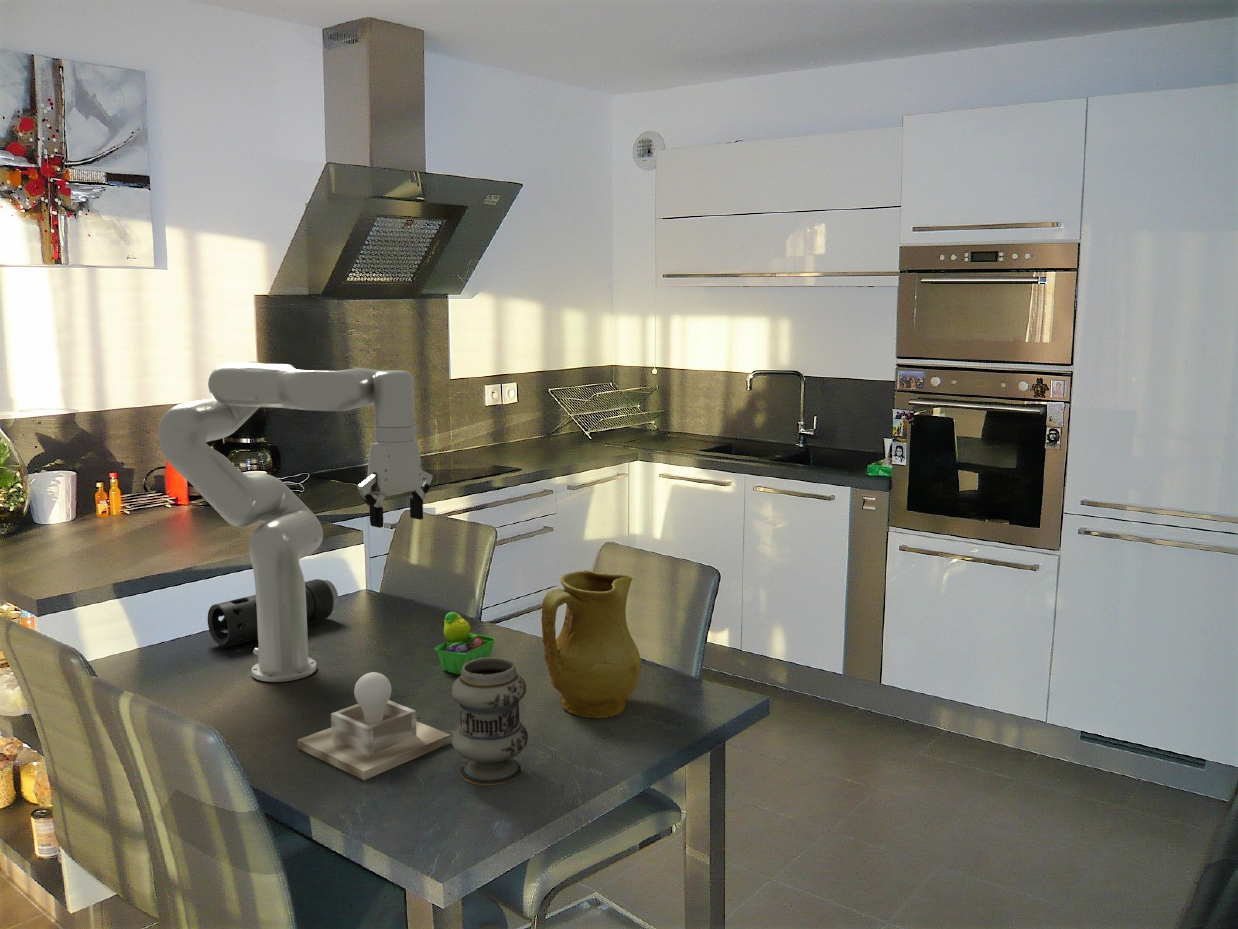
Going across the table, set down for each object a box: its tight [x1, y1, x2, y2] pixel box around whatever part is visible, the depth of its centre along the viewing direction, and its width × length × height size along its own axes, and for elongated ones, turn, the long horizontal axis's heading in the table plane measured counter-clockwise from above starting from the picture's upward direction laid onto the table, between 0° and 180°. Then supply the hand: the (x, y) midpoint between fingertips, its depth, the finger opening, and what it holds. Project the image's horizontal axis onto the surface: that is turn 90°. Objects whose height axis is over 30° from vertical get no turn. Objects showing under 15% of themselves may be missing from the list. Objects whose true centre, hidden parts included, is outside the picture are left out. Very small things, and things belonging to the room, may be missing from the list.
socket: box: [297, 699, 451, 781], centre depth 172 cm, size 18×18×6 cm
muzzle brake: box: [207, 578, 339, 649], centre depth 229 cm, size 10×28×10 cm, turn 141°
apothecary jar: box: [451, 656, 529, 786], centre depth 162 cm, size 12×12×18 cm
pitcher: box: [540, 569, 642, 719], centre depth 188 cm, size 17×19×25 cm
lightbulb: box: [353, 671, 392, 726], centre depth 171 cm, size 6×6×11 cm
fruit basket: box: [435, 611, 496, 676], centre depth 210 cm, size 11×9×11 cm
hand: (397, 522), depth 197 cm, fingers open, 9 cm apart
